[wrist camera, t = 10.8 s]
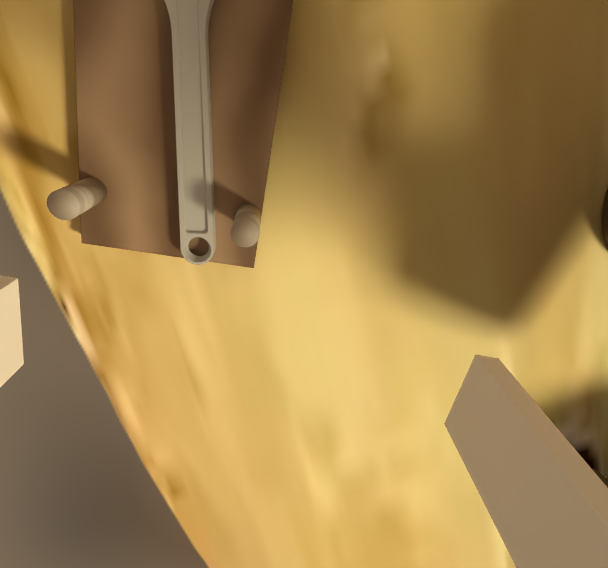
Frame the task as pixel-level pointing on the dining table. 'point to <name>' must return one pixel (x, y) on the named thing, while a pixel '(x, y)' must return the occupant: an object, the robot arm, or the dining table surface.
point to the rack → (171, 124)
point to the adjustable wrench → (193, 123)
